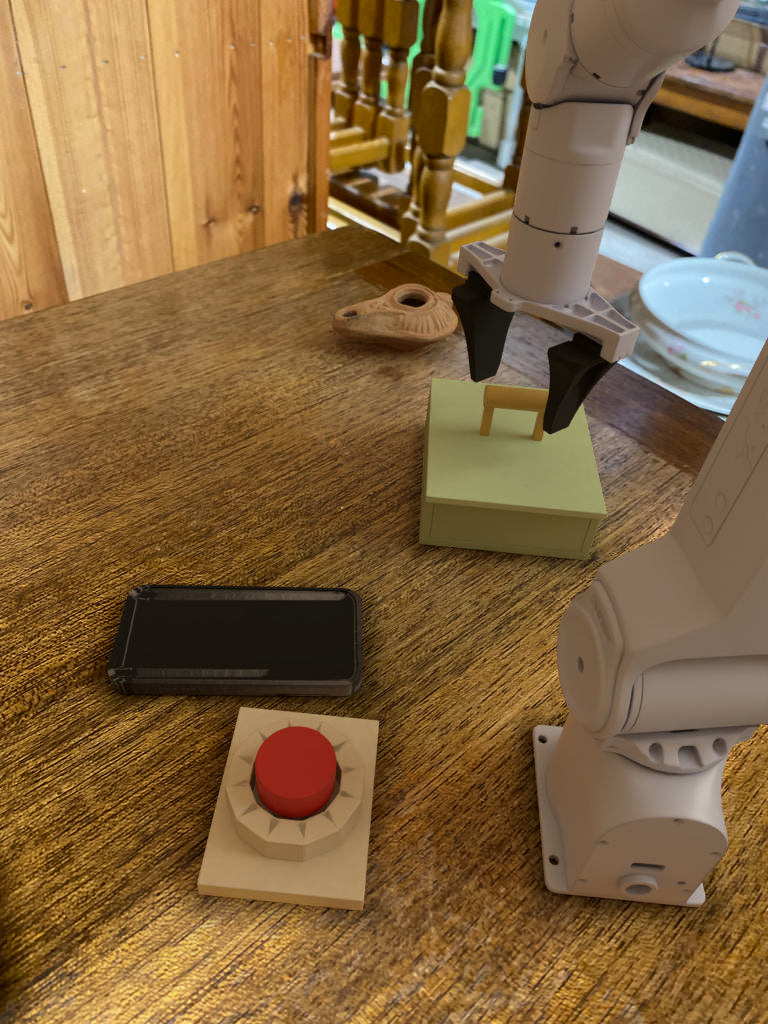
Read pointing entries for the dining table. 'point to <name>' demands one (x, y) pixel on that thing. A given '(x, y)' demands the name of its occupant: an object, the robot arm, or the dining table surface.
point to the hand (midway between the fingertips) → (518, 401)
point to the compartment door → (508, 452)
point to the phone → (238, 641)
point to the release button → (295, 771)
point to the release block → (293, 821)
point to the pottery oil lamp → (399, 318)
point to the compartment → (502, 527)
